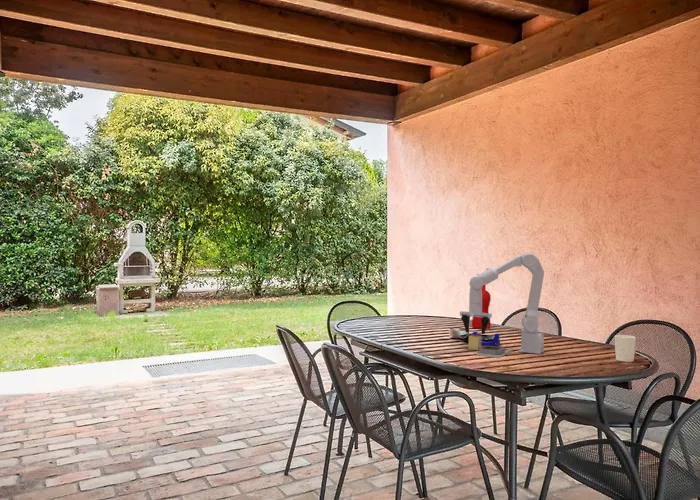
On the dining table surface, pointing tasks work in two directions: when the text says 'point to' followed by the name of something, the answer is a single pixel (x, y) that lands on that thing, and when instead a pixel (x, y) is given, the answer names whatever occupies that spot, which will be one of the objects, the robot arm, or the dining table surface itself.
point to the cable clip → (491, 343)
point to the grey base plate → (493, 351)
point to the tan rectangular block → (475, 342)
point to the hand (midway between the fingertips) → (475, 332)
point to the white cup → (625, 348)
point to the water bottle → (485, 307)
